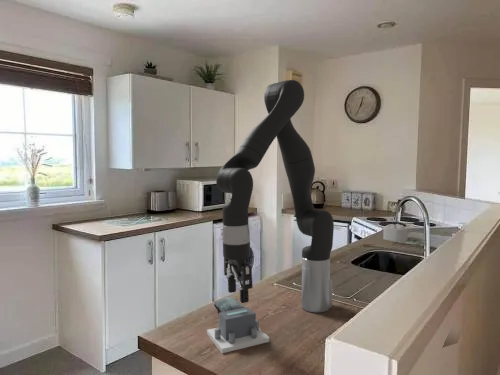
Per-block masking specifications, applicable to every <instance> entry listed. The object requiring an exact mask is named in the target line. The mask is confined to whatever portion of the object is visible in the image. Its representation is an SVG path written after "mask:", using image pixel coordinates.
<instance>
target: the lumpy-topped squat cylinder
mask: <svg viewBox="0 0 500 375" xmlns="http://www.w3.org/2000/svg"><path fill="white" fill-rule="evenodd" d="M408 231H409V229H408V228H407V227H405V226H404V225H402V224H399V223H396V224H394V223H389V224H387V225H386V226H383V237H382V239H383V240H386V241H390V242H407V241H408V236H409V235H408V234H409V232H408Z"/></svg>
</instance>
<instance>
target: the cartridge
mask: <svg viewBox="0 0 500 375" xmlns="http://www.w3.org/2000/svg"><path fill="white" fill-rule="evenodd" d="M218 314H219V315H218V327H219V328H220V329H221V336H222V337H223V338H224V339H225V340H226V341H228V340H229V333H230V332H234V333H235V339H237V338H241V337H245V336H249V335H251V328H252V327H256V320H257V319H256V312H254V311H253V310H252V309H251V308H250V307H246V306H245V308H241V309H236V310H231V311H225V312H218Z"/></svg>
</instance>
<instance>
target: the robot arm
mask: <svg viewBox="0 0 500 375" xmlns="http://www.w3.org/2000/svg"><path fill="white" fill-rule="evenodd" d="M302 85H303V84H301V83H300V81H297V80H295V79H288V80H283V81H279V82H275V83H272V84H268V86H267V87H266V88H265V90H264V94H263V98H264V105H265V108H266V110H267V111H266V112H267V116H265V117H264V118H263V119H261V121H260V122H259V123H258V124H256V126H255V127H254V128H252V130H251V131H250V132H249V133H248V134H247V136H246V137H245V138H244V139H243V142H242V143H241V145H240V147H239V148H238V150H237V151H236V153H234V155H232V156H231V157H230V158H229V159H228V160H227V161H226V162H225V163H224V164H223V165H222V166H221V168H219V171H218V172H217V175H216V179H215V180H216V181H215V182H216V187H217V189H218V190H219V191H220V192H222V193H226V194H231V198H230V201H229V202H226V203H224V205H223V206H222V232H221V233H222V236H221V237H222V256H223V275H224V276H226V280H227V291H228V293H231V294H232V293H236V292H237V283H238V287H239V302H240V303H241V304H246V303H249V301H250V299H249V296H250V295H249V290H250V289H253V272H252V271H253V270H252V266H251V265H247V264H246V260H247V259H248V258H250V257H251V234H250V226H249V206H250V203H251V199H252V198H251V197H252V194H253V190H254V179H253V176H252V173H251V172H250V171H249V170H254V169H255V168H257V167H258V166H259V165H260V163H261V162H262V159H263V158H264V156H265V155H266V153H267V151H268V150H269V148H270V146H271V145H272V143H273V142H274V140H275V139H277V143H278V147H279V150H280V152H281V157H282V162H283V166H284V170H285V174H286V177H287V180H288V183H289V189H290V193H291V196H292V202H293V206H294V213H295V220H296V225H297V229H298V230H299V232H301V234H303V235H305V236H308V237H311V240H310V241H311V243H310V245H308V246H307V245H306V246H304V247H303V248H302V249H301V308H302V309H303V311H307V312H309V313H310V312H311V313H324V312H327V311H329V309H332V308H333V280H332V279H331V277H330V276H331V252H332V249H333V245H334V243H333V242H334V228H335V227H334V226H335V225H334V223H335V222H334V218H333V215H332V214H331V213H330V211H328V210H323V209H320V208H319V209H318V208H315V206H314V204H313V199H312V194H311V192H312V185H313V182H314V178H315V174H316V166H315V163H314V159H313V154H312V151H311V149H310V146H309V145H308V144H307V142H306V141H305V140H304V139H303V137H302V135H300V134H299V132H297V130H296V129H295V127H294V125H293V122H292V120H291V119H292V118H293V116H295V114H296V113H297V112H298V111H299V110H300V108H301V107H302V105H303V103H304V101H305V90H304V87H303V86H302Z"/></svg>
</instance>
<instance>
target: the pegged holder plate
mask: <svg viewBox="0 0 500 375" xmlns="http://www.w3.org/2000/svg"><path fill="white" fill-rule="evenodd" d="M206 335H207V336H208V338H210V340H211V342H212V343H213V344H214V345H215V346H216V347H217V350H219V352H220V353H221V354H225V353H228V352H232V351H237V350H241V349H245V348H249V347H253V346H258V345H262V344H265V343H270V336H268V335H267V334H266V333H265V332H264V331H263V330H262V329H261V328H260V320H258V319H256V327H252V328H251V335H249V336H245V337H241V338H237V339H235V333H234V332H230V333H229V340H228V341H226V340H225V339H224V338H223V337H222V336H221V329H220V328H219V326H218V327H214V328H209V329H206Z"/></svg>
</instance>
